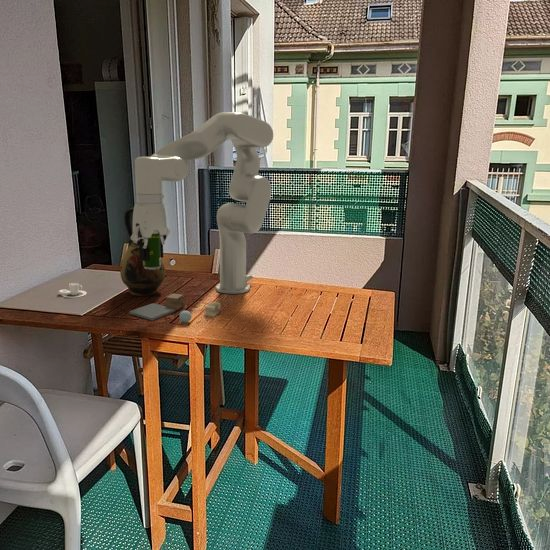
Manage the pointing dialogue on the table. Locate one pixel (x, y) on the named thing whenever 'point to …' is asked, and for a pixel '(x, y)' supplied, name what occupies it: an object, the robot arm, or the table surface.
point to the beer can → (153, 252)
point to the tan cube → (175, 301)
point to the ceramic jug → (138, 267)
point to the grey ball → (185, 316)
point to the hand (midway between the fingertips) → (151, 258)
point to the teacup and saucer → (72, 290)
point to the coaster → (152, 311)
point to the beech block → (212, 309)
